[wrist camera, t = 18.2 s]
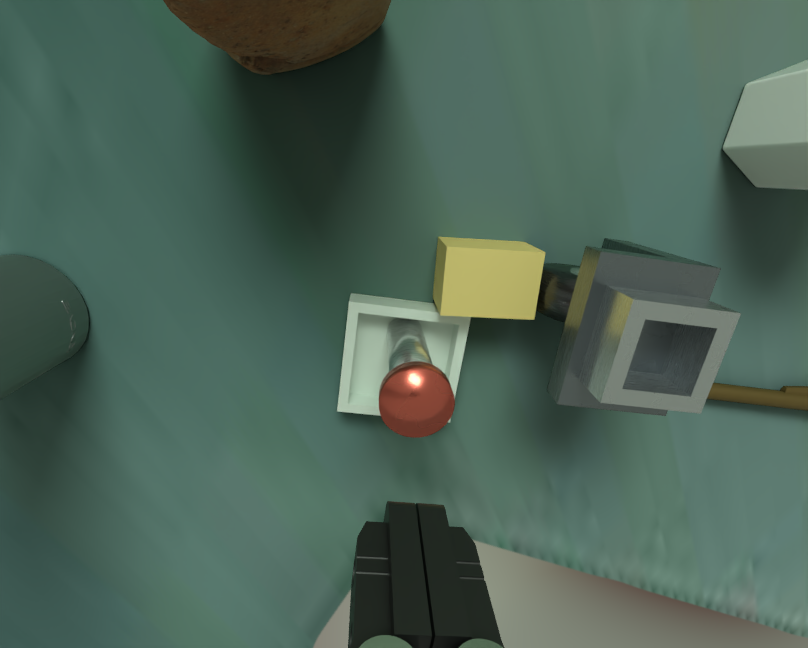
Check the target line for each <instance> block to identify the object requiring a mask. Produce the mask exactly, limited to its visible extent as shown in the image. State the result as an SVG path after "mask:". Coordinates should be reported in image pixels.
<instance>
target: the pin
mask: <svg viewBox="0 0 808 648" xmlns="http://www.w3.org/2000/svg"><path fill="white" fill-rule="evenodd" d="M387 345H388V362H389V373H388V374H387V375H386V376H385V377H384V379H383V381H382V383H381V385H380V389H379V411H380V415H381V417H382V419H383V421H384V423H385V424H386V425H387V426H388V427H389V428H390V429H391V430H393V431H394V432H396V433H398V434H400V435H403V436H406V437H424V436H428V435H431V434H433V433H435V432H437V431H439V430H440V429H441V428H443V427H444V426H445V425H446V424H447V422H448V421H449V420H450V418H451V416H452V414H453V411H454V406H455V399H454V394H453V391H452V388H451V385H450V382H449V380H448V378H447V376H446V375H445V374H444V373H443V371H441V370H440V369H439V368H438V367H436V366H434V365H433V364H432V361H431V357H430V354H429V350H428V347H427V343H426V340H425V336H424V332H423V329H422V326H421V324H420V322H419V321H418V320H415V319H406V318H398V317H396V318H394V319H393V320H392V321H391V322H390V323H389V325H388V328H387Z"/></svg>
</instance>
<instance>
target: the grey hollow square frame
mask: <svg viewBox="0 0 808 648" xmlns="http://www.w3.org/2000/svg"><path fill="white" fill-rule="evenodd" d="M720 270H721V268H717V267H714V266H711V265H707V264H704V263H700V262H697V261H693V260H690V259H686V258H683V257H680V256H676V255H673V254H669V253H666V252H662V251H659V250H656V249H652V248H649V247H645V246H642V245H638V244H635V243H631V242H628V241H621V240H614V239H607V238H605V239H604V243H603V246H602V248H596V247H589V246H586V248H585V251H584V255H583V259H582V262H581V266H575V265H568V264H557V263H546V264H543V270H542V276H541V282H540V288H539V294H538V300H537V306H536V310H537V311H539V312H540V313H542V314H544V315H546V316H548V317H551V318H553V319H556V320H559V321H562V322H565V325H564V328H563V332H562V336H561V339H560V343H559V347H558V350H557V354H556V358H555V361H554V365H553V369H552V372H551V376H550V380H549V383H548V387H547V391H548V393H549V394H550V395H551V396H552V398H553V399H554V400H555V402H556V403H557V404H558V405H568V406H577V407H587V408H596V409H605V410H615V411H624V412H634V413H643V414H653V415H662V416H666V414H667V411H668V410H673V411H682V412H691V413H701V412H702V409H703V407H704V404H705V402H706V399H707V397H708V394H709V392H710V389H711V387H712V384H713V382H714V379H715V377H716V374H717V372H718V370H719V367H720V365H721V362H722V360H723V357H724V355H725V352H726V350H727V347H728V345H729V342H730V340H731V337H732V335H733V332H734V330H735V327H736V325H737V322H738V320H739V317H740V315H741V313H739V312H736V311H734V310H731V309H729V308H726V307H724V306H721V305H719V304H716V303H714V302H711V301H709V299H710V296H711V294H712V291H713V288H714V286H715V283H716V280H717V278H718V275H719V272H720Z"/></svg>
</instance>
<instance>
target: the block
mask: <svg viewBox="0 0 808 648" xmlns="http://www.w3.org/2000/svg"><path fill="white" fill-rule="evenodd" d="M163 1H164V2H165V4H166V5H167V7H168V8H169V9H170V11H171V12H172V13H173V14H175V15H176V16H177V17H178V18H179V19H180V20H181V21H182V22H184V23H185V24H186V25H187V26H188V27H189V28H191V30H193V31H194V32H195V33H197V34H198V35H200V36H201V37H203V38H205V39H206V40H207V41H208V42H209V43H211V44H213V45H215V46H217V47H219V48H221V49H223V50H224V51H226V52H227V53H228V54H229V55H230V56H231V57H232V58H233V59H234V60H235V61H237V62H238V63H240V64H241V65H242V66H244V67H245V68H247V69H248V70H250V71H252V72H254V73H258V74H262V75H271V74H274V73H280V72H285V71H290V70H295V69H299V68H303V67H306V66H310V65H312V64H315V63H318V62H321V61H324V60H326V59H329V58H331V57H334V56H336V55H338V54H340V53H342V52H344V51H346V50H348V49H350V48H352V47H353V46H355V45H357V44H359V43H360V42H361V41H363V40H364V39H365V38H367V37H368V36H370V35H371V34H372V33H373V32H375V31H376V30H377V29H378V28H379V27H380V26H381V24H382V23H383V21H384V19H385V16H386V13H387V11H388V8H389V5H390V2H391V0H163Z"/></svg>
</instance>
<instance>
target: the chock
mask: <svg viewBox="0 0 808 648" xmlns="http://www.w3.org/2000/svg"><path fill="white" fill-rule="evenodd" d="M544 258H545V252H544V251H542V250H540V249H538V248H536V247H534V246H532V245H530V244H528V243H526V242H518V241H501V240H484V239H467V238H450V237H438V244H437V255H436V267H435V278H434V289H433V299H434V302H435V304H436V306H437V309H438V311H439V314H440V315H441V316H462V317H484V318H505V319H527V320H534V318H535V312H536V306H537V300H538V294H539V288H540V282H541V276H542V270H543V264H544Z"/></svg>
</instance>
